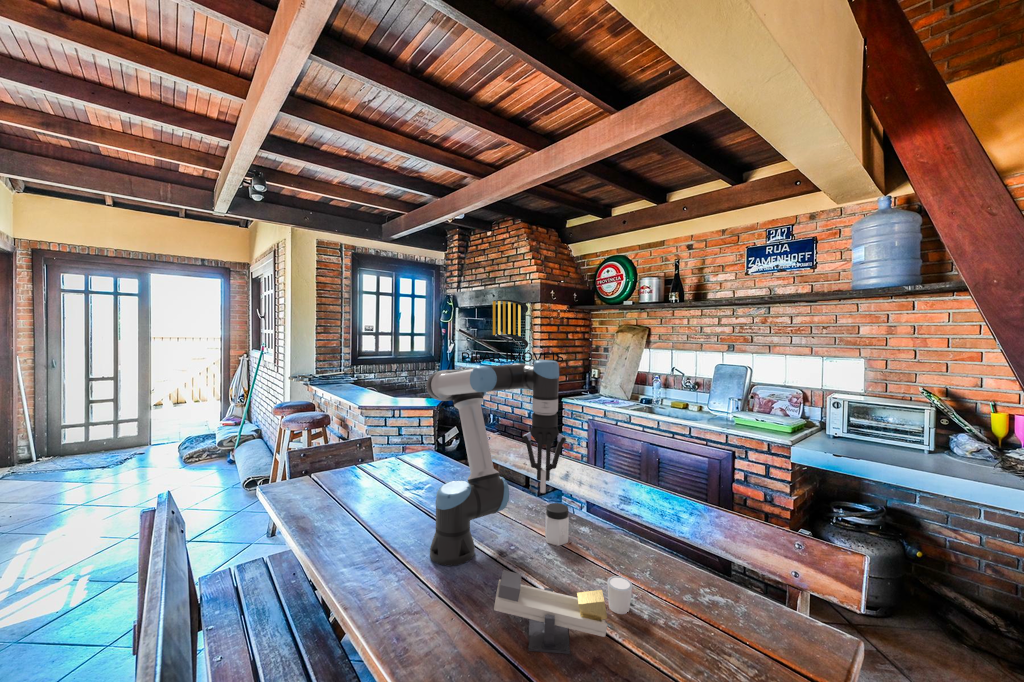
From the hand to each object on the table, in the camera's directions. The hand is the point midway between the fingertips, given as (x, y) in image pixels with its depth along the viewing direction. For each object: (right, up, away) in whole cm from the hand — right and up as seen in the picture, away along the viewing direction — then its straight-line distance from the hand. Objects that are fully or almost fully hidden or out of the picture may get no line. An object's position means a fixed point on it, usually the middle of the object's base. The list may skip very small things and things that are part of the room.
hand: (542, 490), depth 123 cm
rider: (+8, -23, -18) cm, 30 cm away
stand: (0, -30, -17) cm, 34 cm away
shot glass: (+21, -30, -7) cm, 38 cm away
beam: (0, -24, -17) cm, 30 cm away
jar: (+7, -29, +29) cm, 41 cm away
